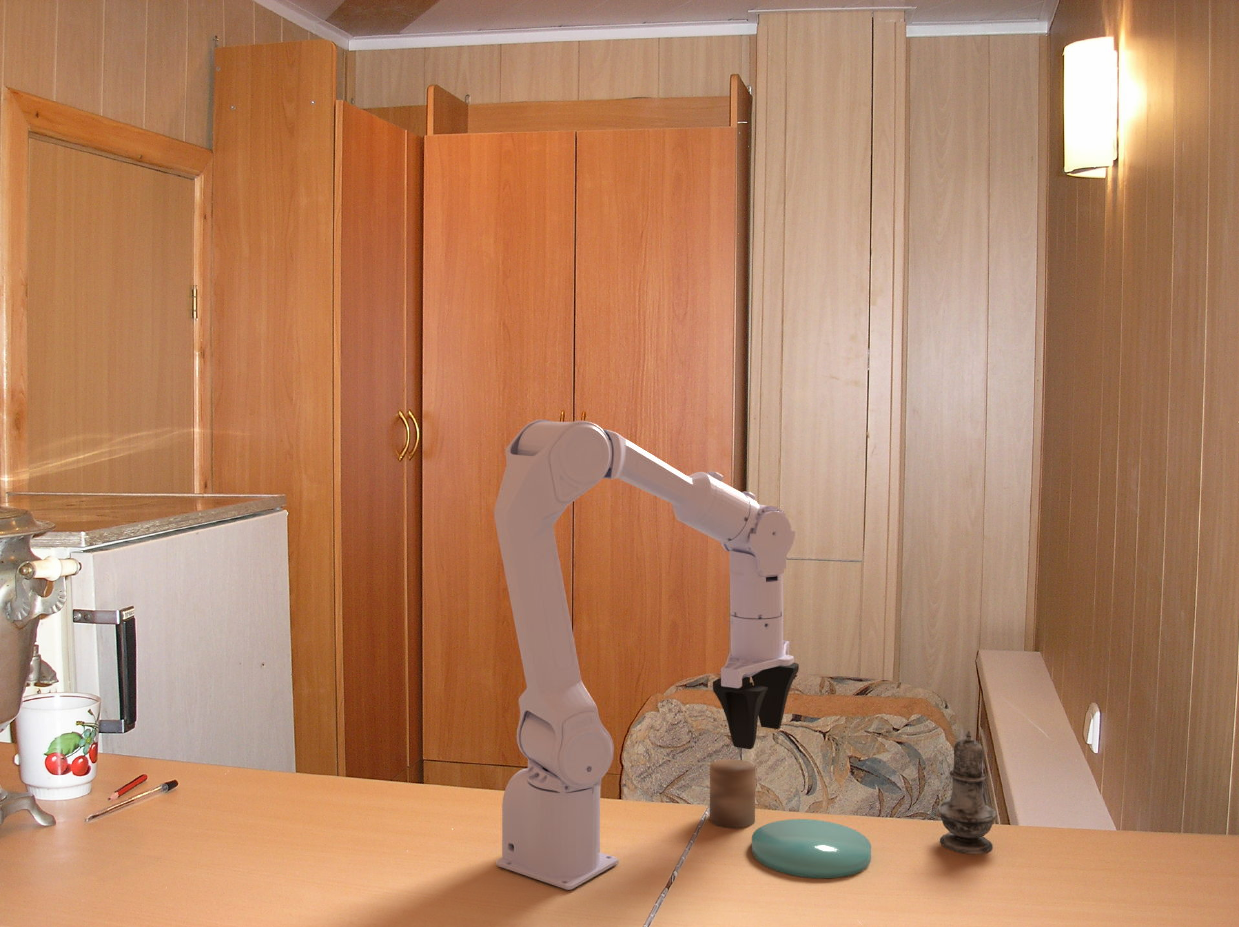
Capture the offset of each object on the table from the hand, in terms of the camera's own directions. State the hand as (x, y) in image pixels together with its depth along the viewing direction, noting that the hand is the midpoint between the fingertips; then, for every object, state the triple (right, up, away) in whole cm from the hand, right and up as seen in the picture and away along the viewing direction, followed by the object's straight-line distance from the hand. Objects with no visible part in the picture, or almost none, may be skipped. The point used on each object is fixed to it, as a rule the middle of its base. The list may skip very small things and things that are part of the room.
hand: (757, 737), depth 118 cm
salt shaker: (+21, -10, -5) cm, 24 cm away
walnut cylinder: (-3, -10, +1) cm, 10 cm away
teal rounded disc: (+4, -10, -7) cm, 13 cm away
